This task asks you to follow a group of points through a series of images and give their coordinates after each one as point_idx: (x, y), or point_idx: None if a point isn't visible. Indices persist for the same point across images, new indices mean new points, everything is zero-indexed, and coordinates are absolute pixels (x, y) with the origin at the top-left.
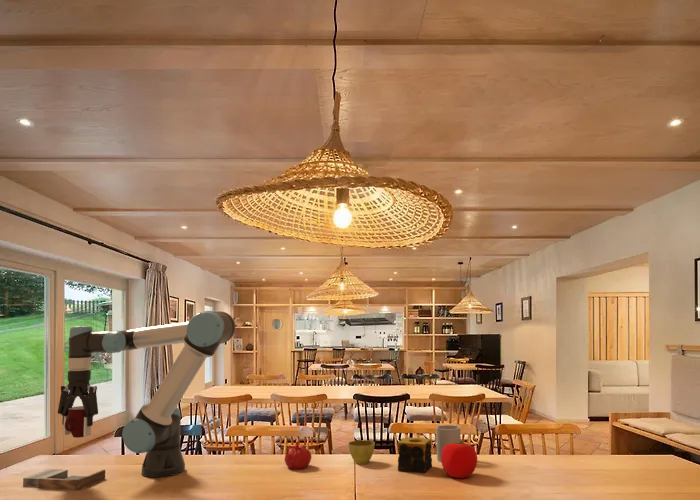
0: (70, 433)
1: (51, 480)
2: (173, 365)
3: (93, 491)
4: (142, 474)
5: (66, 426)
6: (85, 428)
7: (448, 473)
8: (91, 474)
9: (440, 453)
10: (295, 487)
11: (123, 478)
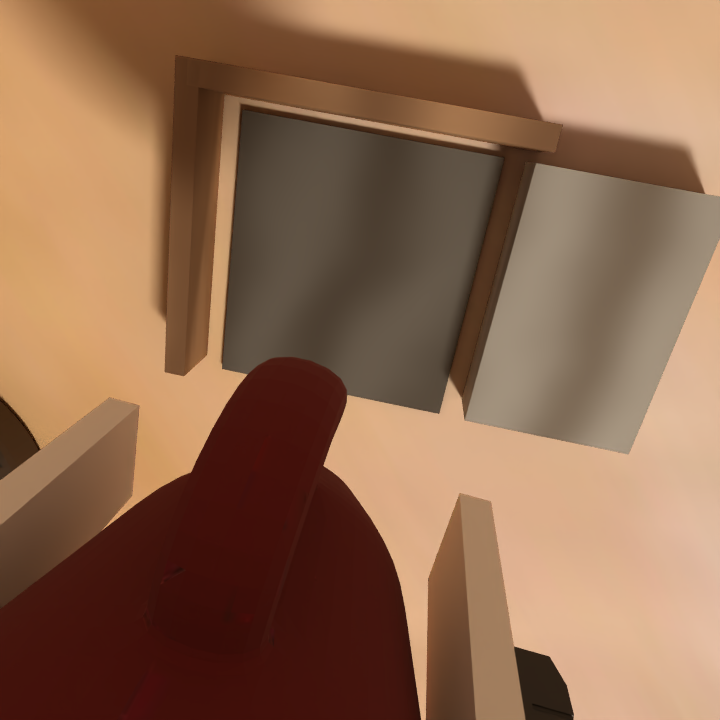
0: (429, 579)
1: (433, 103)
2: None
3: (76, 33)
4: (3, 406)
5: (280, 363)
6: (32, 457)
7: None
8: (185, 247)
9: None
10: None
11: (78, 348)
